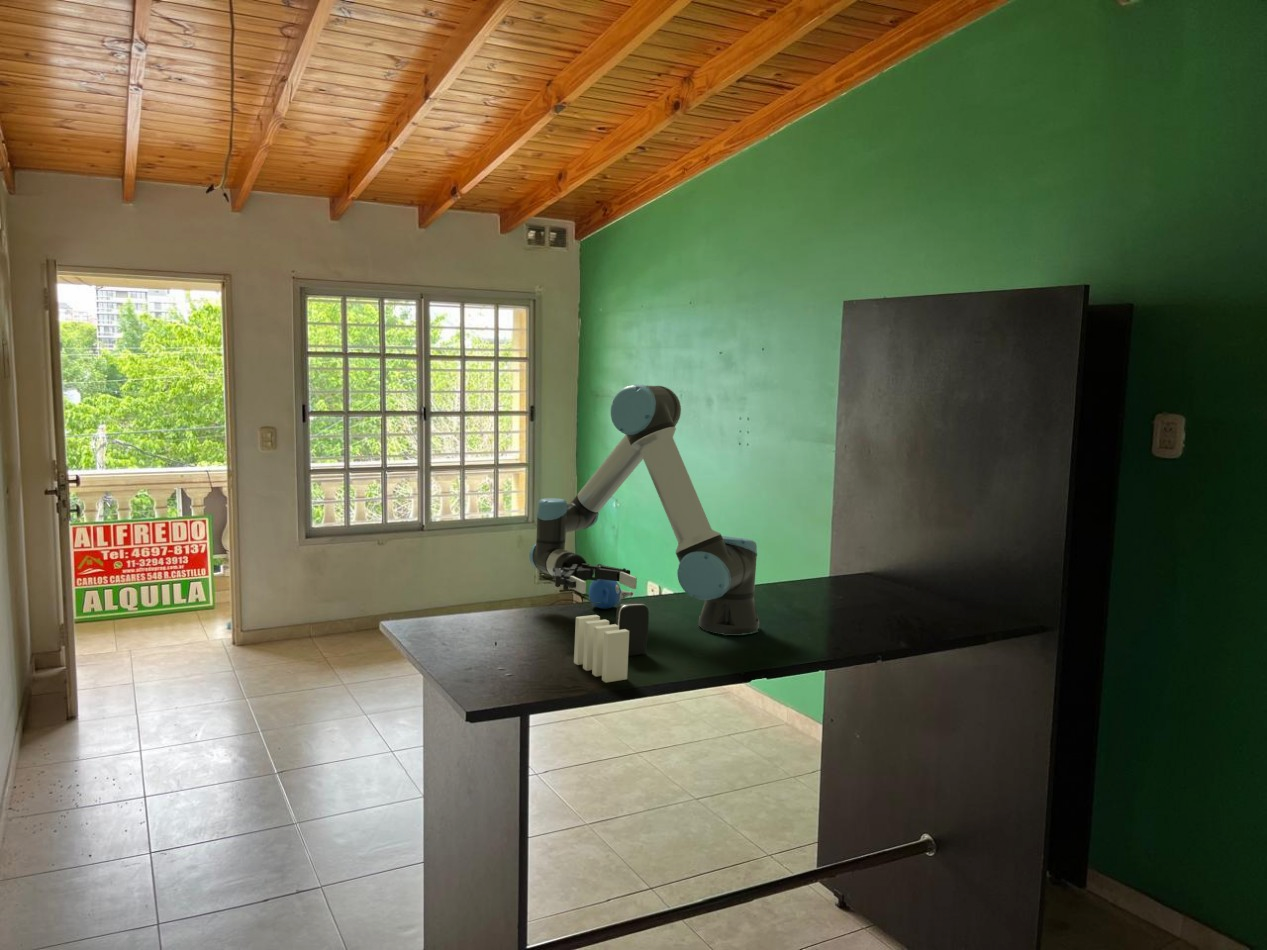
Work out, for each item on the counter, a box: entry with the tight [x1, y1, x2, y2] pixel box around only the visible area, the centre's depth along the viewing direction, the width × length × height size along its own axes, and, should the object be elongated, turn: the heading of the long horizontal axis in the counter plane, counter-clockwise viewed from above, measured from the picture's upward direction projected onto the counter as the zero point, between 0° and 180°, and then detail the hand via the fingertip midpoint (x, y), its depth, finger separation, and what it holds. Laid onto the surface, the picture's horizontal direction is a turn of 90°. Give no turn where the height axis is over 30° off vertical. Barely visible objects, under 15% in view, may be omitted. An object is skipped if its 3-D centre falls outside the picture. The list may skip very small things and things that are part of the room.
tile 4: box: [601, 629, 629, 683], centre depth 177 cm, size 5×2×10 cm, turn 122°
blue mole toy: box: [588, 579, 634, 610], centre depth 234 cm, size 12×12×8 cm
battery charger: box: [615, 602, 650, 657], centre depth 195 cm, size 7×4×11 cm, turn 112°
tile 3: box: [591, 623, 619, 677], centre depth 181 cm, size 5×2×10 cm, turn 122°
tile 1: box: [573, 614, 601, 666], centre depth 187 cm, size 5×2×10 cm, turn 122°
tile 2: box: [582, 619, 610, 672], centre depth 184 cm, size 5×2×10 cm, turn 122°
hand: (610, 585), depth 202 cm, fingers open, 13 cm apart
